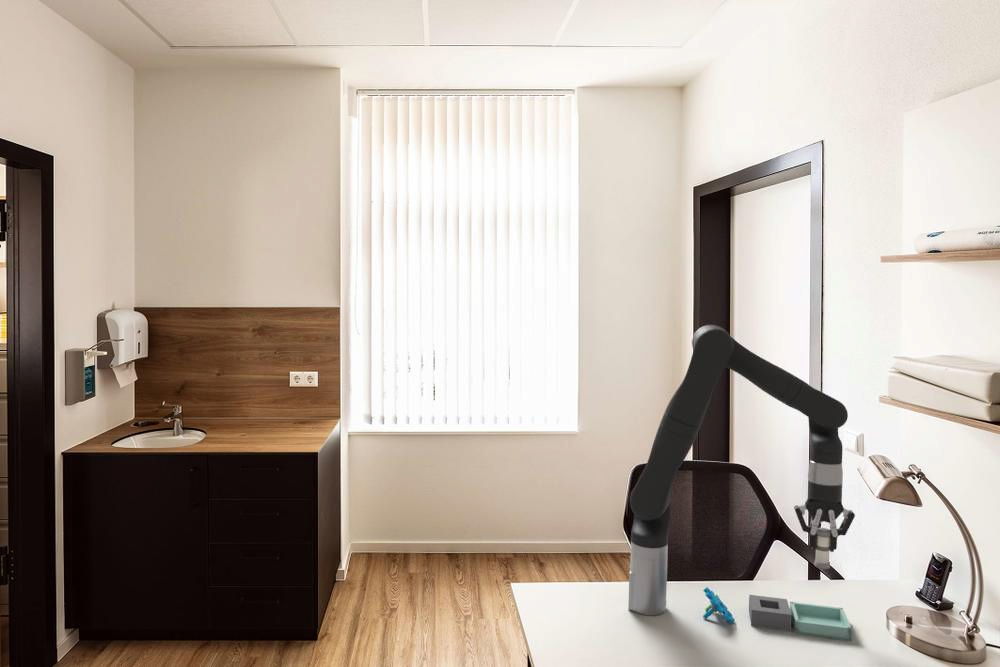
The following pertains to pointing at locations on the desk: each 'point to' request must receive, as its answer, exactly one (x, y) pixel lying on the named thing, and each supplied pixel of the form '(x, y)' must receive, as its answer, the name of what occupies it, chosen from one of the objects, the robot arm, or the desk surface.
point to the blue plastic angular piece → (716, 606)
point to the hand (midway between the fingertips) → (822, 549)
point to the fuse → (822, 548)
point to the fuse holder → (769, 612)
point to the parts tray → (820, 621)
